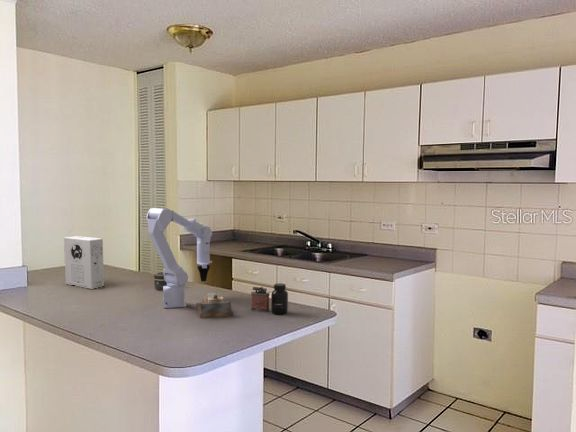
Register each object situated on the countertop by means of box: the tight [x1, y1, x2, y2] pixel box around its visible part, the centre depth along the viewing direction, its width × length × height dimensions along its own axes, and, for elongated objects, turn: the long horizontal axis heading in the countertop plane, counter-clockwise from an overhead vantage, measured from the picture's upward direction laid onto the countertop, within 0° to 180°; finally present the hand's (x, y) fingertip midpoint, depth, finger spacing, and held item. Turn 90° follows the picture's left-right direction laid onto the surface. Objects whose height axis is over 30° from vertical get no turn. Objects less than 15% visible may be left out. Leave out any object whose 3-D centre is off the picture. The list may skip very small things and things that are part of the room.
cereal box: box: [63, 235, 105, 290], centre depth 253 cm, size 22×8×25 cm, turn 58°
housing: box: [208, 294, 224, 303], centre depth 203 cm, size 6×4×6 cm, turn 104°
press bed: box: [196, 295, 233, 319], centre depth 211 cm, size 13×30×6 cm, turn 14°
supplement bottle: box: [270, 282, 289, 316], centre depth 202 cm, size 7×7×12 cm
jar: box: [153, 271, 168, 291], centre depth 247 cm, size 10×10×8 cm
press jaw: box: [206, 292, 216, 303], centre depth 211 cm, size 6×12×3 cm, turn 14°
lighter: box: [250, 286, 270, 313], centre depth 206 cm, size 8×3×10 cm, turn 71°
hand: (203, 281), depth 226 cm, fingers closed
